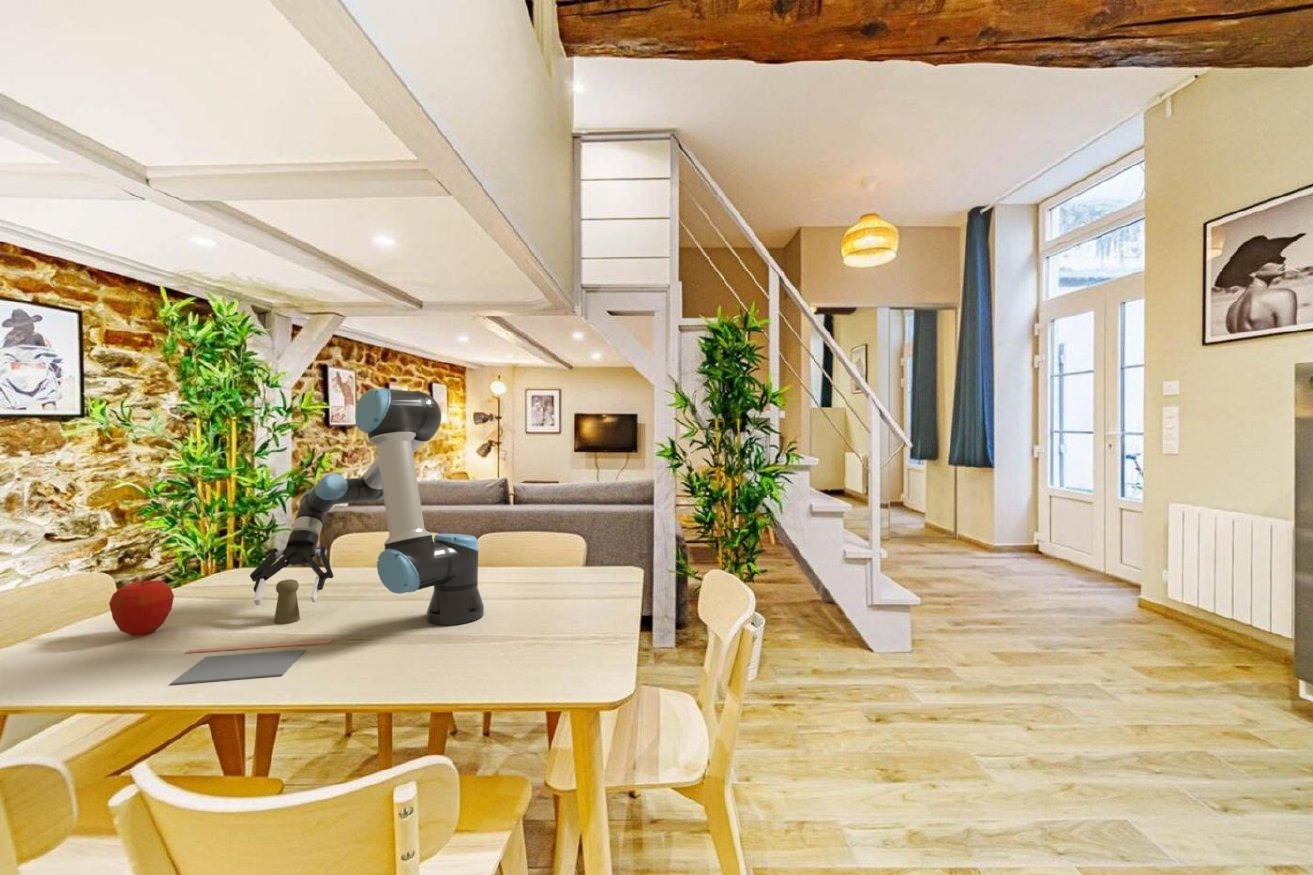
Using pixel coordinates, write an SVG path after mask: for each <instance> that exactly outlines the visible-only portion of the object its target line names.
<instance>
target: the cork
mask: <svg viewBox="0 0 1313 875" xmlns="http://www.w3.org/2000/svg"><path fill="white" fill-rule="evenodd" d="M275 585H276V586H275V590H276V591H275V592H277V594H278V595H277V599H276V601H277V602H276V608H275V613H274V620H273V624H275V625H287V624H293V623H297V622H298V621H300V620H301V617H300V615H301V614H300V609H299V603H298V595H297V591H298V590H299V586H300V585H299V582H298V580H296V579H284V580H280V581H278V582H277V583H276V584H275Z"/></svg>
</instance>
